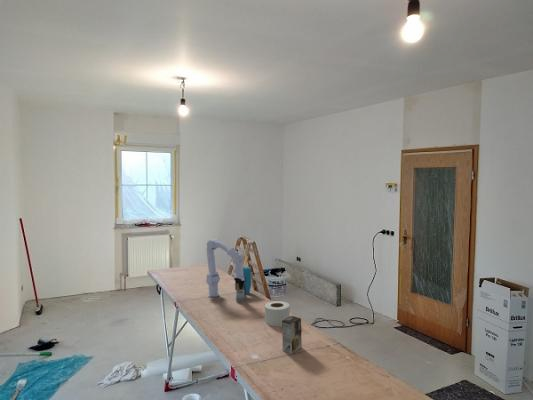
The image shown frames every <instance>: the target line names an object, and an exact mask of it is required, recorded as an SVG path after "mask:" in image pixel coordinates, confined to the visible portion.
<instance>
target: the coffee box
mask: <svg viewBox="0 0 533 400" xmlns="http://www.w3.org/2000/svg"><path fill="white" fill-rule="evenodd" d="M281 333H282V351H283V352H287V353H289V354H294V353H296V352H298V351H299V350H300V349H302V347H303V346H302V343H303V341H302V339H303V338H302V318H300V317H298V316H294V315H291V316H290V317H288V318H286V319H285V320H283V321H282V326H281Z"/></svg>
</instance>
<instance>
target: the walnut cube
mask: <svg viewBox="0 0 533 400" xmlns="http://www.w3.org/2000/svg"><path fill="white" fill-rule="evenodd" d="M234 289H235V291H244V285H243V289H240V288H239V283H235V282H234Z"/></svg>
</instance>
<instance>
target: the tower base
mask: <svg viewBox="0 0 533 400" xmlns="http://www.w3.org/2000/svg"><path fill="white" fill-rule="evenodd" d="M245 298H246V296H245V297H243V298H236V297H235V301H236V303H243V302H246V301H245Z"/></svg>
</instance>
